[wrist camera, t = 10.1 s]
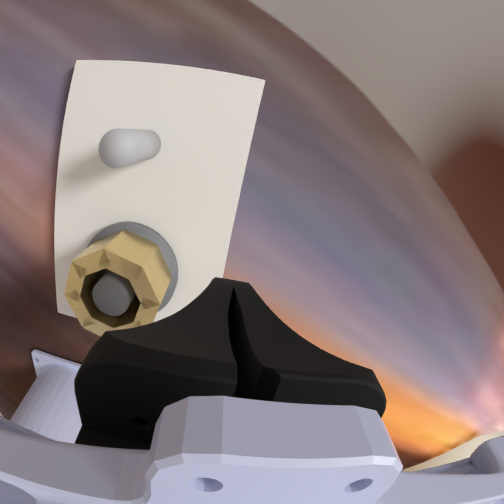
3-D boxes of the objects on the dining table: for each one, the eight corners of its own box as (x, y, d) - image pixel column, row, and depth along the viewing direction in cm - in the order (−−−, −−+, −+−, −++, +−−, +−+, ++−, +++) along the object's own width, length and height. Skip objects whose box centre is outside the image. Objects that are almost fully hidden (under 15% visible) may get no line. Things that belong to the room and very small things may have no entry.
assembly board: (210, 339, 23) (204, 396, 18) (63, 306, 22) (27, 349, 16) (264, 82, 17) (275, 60, 12) (83, 63, 16) (34, 44, 10)
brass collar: (182, 298, 20) (172, 328, 17) (112, 318, 20) (95, 348, 17) (147, 219, 18) (129, 238, 15) (77, 248, 19) (51, 269, 15)
